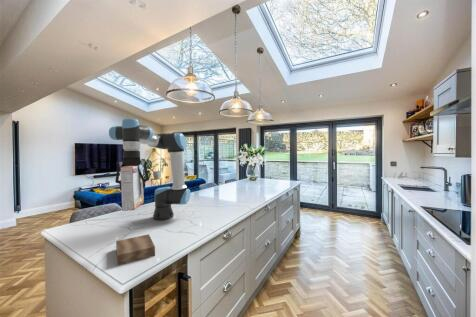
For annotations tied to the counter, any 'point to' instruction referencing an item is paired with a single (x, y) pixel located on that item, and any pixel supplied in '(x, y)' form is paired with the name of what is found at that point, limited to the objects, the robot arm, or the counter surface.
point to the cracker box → (131, 187)
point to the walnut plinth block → (134, 249)
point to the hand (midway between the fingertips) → (133, 195)
